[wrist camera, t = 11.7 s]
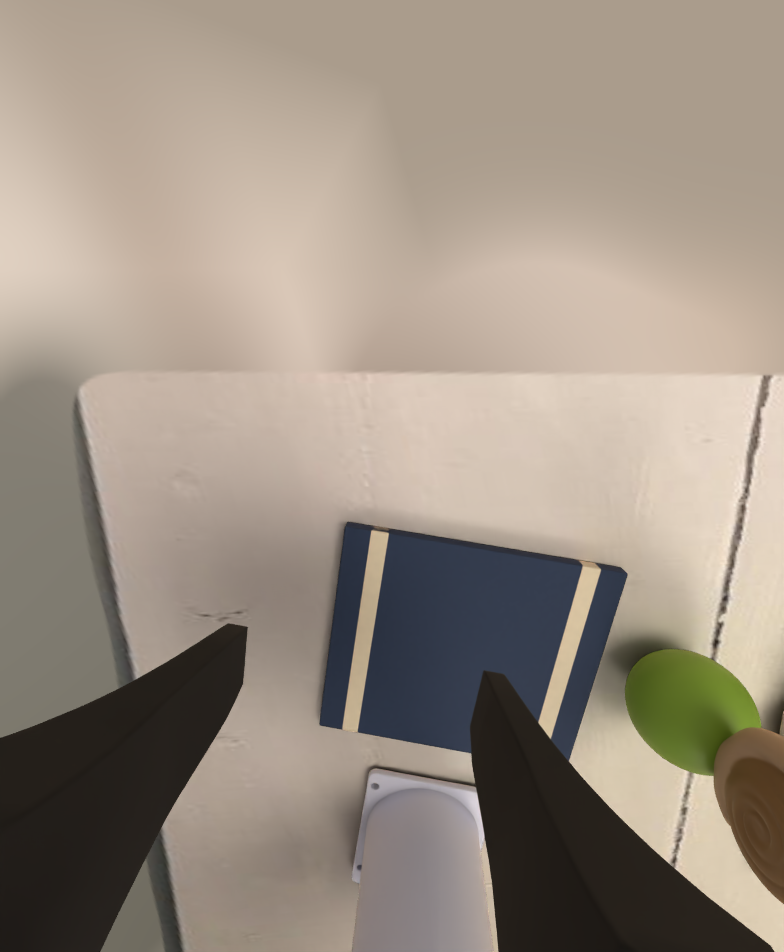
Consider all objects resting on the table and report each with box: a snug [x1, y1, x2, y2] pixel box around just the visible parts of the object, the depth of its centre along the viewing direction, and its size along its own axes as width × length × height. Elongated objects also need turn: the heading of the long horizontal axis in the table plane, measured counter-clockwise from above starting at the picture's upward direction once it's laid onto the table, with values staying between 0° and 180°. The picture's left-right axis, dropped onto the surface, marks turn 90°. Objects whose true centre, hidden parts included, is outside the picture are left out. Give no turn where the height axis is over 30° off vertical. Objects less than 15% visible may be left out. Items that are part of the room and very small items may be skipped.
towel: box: [319, 522, 627, 761], centre depth 23 cm, size 13×15×1 cm
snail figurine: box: [625, 649, 784, 904], centre depth 17 cm, size 5×6×12 cm
